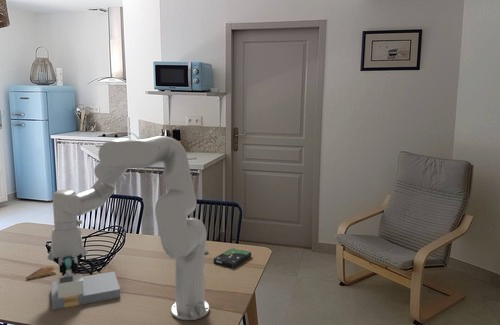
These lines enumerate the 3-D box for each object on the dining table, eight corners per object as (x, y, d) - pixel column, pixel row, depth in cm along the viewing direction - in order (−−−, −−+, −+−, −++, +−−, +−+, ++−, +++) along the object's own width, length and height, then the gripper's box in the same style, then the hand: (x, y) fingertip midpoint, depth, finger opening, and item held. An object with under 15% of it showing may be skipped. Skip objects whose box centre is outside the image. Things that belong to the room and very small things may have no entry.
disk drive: (233, 270, 171) (251, 257, 183) (233, 263, 170) (251, 251, 183) (213, 264, 176) (232, 252, 189) (213, 258, 176) (232, 247, 188)
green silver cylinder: (74, 278, 149) (72, 257, 147) (64, 279, 147) (63, 258, 146) (73, 274, 151) (72, 254, 150) (64, 276, 150) (62, 255, 149)
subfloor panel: (120, 297, 146) (120, 289, 146) (52, 310, 137) (51, 301, 136) (114, 278, 160) (114, 271, 160) (52, 289, 151) (51, 281, 151)
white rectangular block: (83, 294, 142) (82, 279, 141) (58, 298, 138) (57, 283, 138) (83, 287, 146) (82, 273, 145) (58, 291, 143) (57, 277, 142)
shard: (25, 281, 158) (25, 277, 158) (24, 274, 164) (23, 269, 164) (56, 275, 164) (56, 271, 163) (53, 268, 170) (53, 264, 170)
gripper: (90, 219, 153) (92, 265, 156) (40, 224, 146) (43, 273, 149) (91, 225, 146) (93, 273, 149) (39, 230, 139) (43, 281, 142)
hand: (68, 272), depth 149 cm, fingers closed on green silver cylinder, 3 cm apart
